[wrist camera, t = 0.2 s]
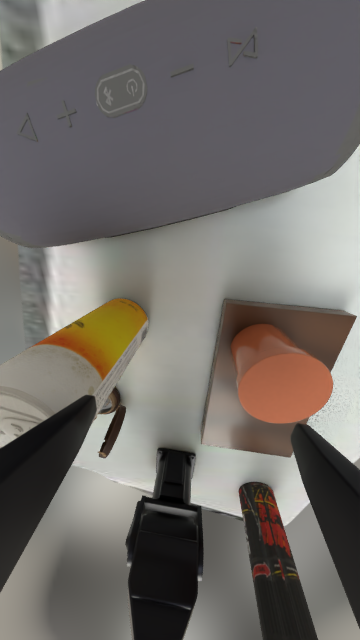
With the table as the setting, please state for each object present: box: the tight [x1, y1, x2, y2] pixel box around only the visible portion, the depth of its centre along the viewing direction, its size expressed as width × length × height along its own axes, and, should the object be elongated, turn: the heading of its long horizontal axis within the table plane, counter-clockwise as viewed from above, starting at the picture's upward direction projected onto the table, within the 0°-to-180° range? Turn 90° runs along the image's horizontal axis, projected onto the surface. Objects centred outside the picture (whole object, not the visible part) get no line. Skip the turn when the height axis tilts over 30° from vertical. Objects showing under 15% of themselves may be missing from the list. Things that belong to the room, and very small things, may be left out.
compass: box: [94, 387, 126, 458], centre depth 25 cm, size 8×8×7 cm
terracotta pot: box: [230, 324, 333, 423], centre depth 17 cm, size 7×7×6 cm
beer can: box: [0, 298, 149, 448], centre depth 16 cm, size 6×6×15 cm
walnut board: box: [201, 299, 357, 457], centre depth 23 cm, size 22×13×2 cm, turn 176°
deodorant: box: [239, 482, 318, 640], centre depth 26 cm, size 6×6×15 cm
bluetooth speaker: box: [0, 0, 360, 248], centre depth 12 cm, size 23×9×10 cm, turn 101°
